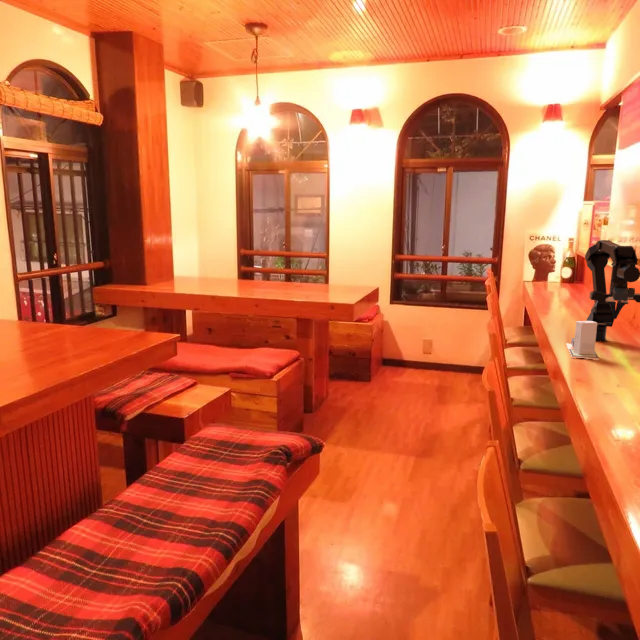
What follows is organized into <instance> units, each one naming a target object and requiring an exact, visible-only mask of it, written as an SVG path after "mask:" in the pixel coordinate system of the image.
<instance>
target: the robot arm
mask: <svg viewBox="0 0 640 640" xmlns="http://www.w3.org/2000/svg"><path fill="white" fill-rule="evenodd" d="M584 256H585V257H584V260H585V262H586V266H587V267H588V268H589V270H590V271H591V275H592V276H591V277H592V289H593V290H591V291H590V292H589V299H590V300H591V301H593V302H594V303H593V306H592V307H591V309H590V313H589V314H588V316H587V318H586V321H594V322H596V323H597V332H596V341H595V342H602V343H603V342H604V343H605V342H606V343H607V342H608V339H607V337H606V336H607V328H608V327H610V328H611V327H613V324H614V321H615V320H616V319H617V318H618V316H619V315H620V312H621V310H622V309H623V307H625V305H628V304H629V301H634V302H636V303H640V293H639V292H638V293H637V292H636V288H635V287H628V285H629V284H628V283H635V282H637V281H638V280H639V279H640V269H639V268H638V267H636V265H638V261H639V260H638V256H637V252H636V250H635V249H634V246H633V245H620V244H617V243H615V242H614V241H612V240H610V239H607V240H604V239H603V240H602V239H600V240H597V241H596V243H594V244H593V245H591V246H590V247H589V248H587V251H586V252H585V255H584ZM610 259H611V276H610V285H609V293H608V292H607V284H606V283H607V282H606V273H605V271H606V270H605V268H606V267H607V265H608V264H609V260H610ZM616 301H617V302H616Z"/></svg>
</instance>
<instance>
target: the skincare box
mask: <svg viewBox="0 0 640 640" xmlns="http://www.w3.org/2000/svg"><path fill="white" fill-rule="evenodd" d="M596 332H597V323H596V322H594V321H587V320H576V322H575V332H574V333H575V334H574V338H575V340H574V352H575V353H577V354H594V351H595V349H596V342H597V341H596ZM595 352H596V351H595Z"/></svg>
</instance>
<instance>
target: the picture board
mask: <svg viewBox="0 0 640 640" xmlns="http://www.w3.org/2000/svg"><path fill="white" fill-rule="evenodd" d="M574 340H575V337H571V341H570V343H567V342H566V344H565V346H566V345H567V347H566V349H567V348H568V349H567V350H569V351H568V353H569V352H570V353H569V355H570V354H571V356H570V358H571V357H576V358H586V359H585V360H588V359H593V360H592V361H599V360H600V358H599V356H598V354H597V353H596V351H594V354H577V353H575V352H574ZM576 358H575V359H576Z"/></svg>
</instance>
